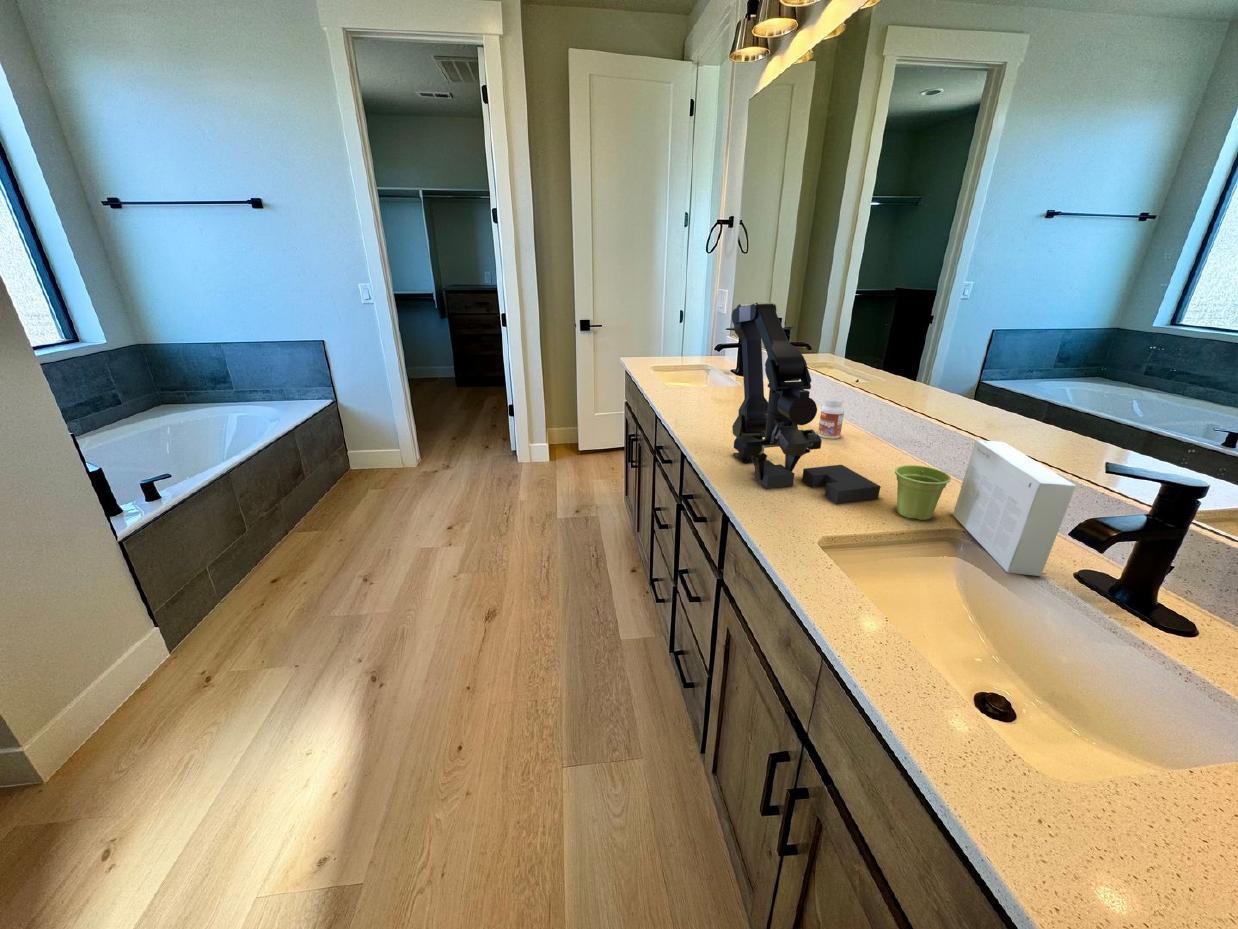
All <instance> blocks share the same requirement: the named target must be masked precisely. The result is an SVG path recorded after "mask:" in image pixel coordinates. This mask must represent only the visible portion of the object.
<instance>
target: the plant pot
mask: <svg viewBox="0 0 1238 929" xmlns="http://www.w3.org/2000/svg"><path fill="white" fill-rule="evenodd" d="M894 473H895V475H896V482H897V488H896V489H897V490H896V491H897V492H896V511H897V513H898V514H899V515H900V516H902V517H905V518H908V519H917V520H920V521H927V520H930V519H931V518H932V517H933V514H934V512H935V510H936V508H937V504H938V502H939V500H940V498H941V495H942V493H943V490H944V489H945V488H946V486H947V484H948V483H950V482H951V480H952V477H951V476H950V474H948V473H946V472H945V471H944V470H940V469H938V468H933V467H930V466H925V465H916V464H905V465H899V466H897V467H895V469H894Z"/></svg>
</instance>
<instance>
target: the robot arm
mask: <svg viewBox="0 0 1238 929" xmlns="http://www.w3.org/2000/svg"><path fill="white" fill-rule="evenodd" d="M731 322H732V324H733V329H734V333H735V334H736V336H737V337H738V338H739V340H740V341H741V354H742V355H741V356H742V370H743V371H742V375H743V376H742V377H743V396H744V399H743V401H742V403H741V405H740V407H739V408H738V416H737V417H736V419H735V420H734V422H733V424H732V435H733V436H734V437H735V439H734V440H733V449H734V450H736V451H737V452H733V453H732V456H733V457H735V458H736V459H737V460H739V461H740V462H741V463H743V464H748V463H749V464H750V463H752V464H753V467H754V471H755V470H756V473H757V475H758V478H759V479H760V480H762V478H763V472H764V461H767V457H768V454H766V453H765V449H768V448H777V447H779V448H780V449H781V451H782V454H784V455H785V456H784V467H786V468H787V469H789V470H790V471H792V472H793V471H794V469H795V467H796V465H797V464H798V462H799V460H800V459H801V458H802V457H803V456H805V455H806V454H810V453H811V451H812V450H813V451H814V450H820V449H821V448H822V443H823V441H822V437H821V436H819V435H818V433H816V431H815V430H814V429H812V428H811V429H805V430H804V429H799V427H798V426H805V425H807V424H809V423H811V422H812V421H813V420H814V419H815V418H816V416H817V413H818V407H817V403H816V401H815V400H814V399H813V398H811V397H810V393H811V392H810V391H809V390H811V389H812V385H811V382H812V377H811V374H810V372H809V368H808V364H807V360H806V358H805V357H804V355H803V354H802V352H801V350H800V349H799V348H798V347H797V346H795V345H793V344H791V343H790V342H789V340H788V337H787V335H786V332H785V330H784V327H783V326H782V323H781V321H780V318H779V316H778V313H777V305H776V304H775V303H773V302H771V301H770V302H769V301H767V302H755V303H739V304H737V306H736V308H734V309H733V310H732V313H731ZM762 344H763V346H764V347H763V346H762ZM763 348H764V349H765V352H766V356H767V357H766V361H765V363H763ZM763 364H764V366H763ZM764 370H765V375H766V379H767V381H768V383H767V388H769V391H768V399H766V397H765V388H764V387H765V386H764V385H765V384H764Z"/></svg>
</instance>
